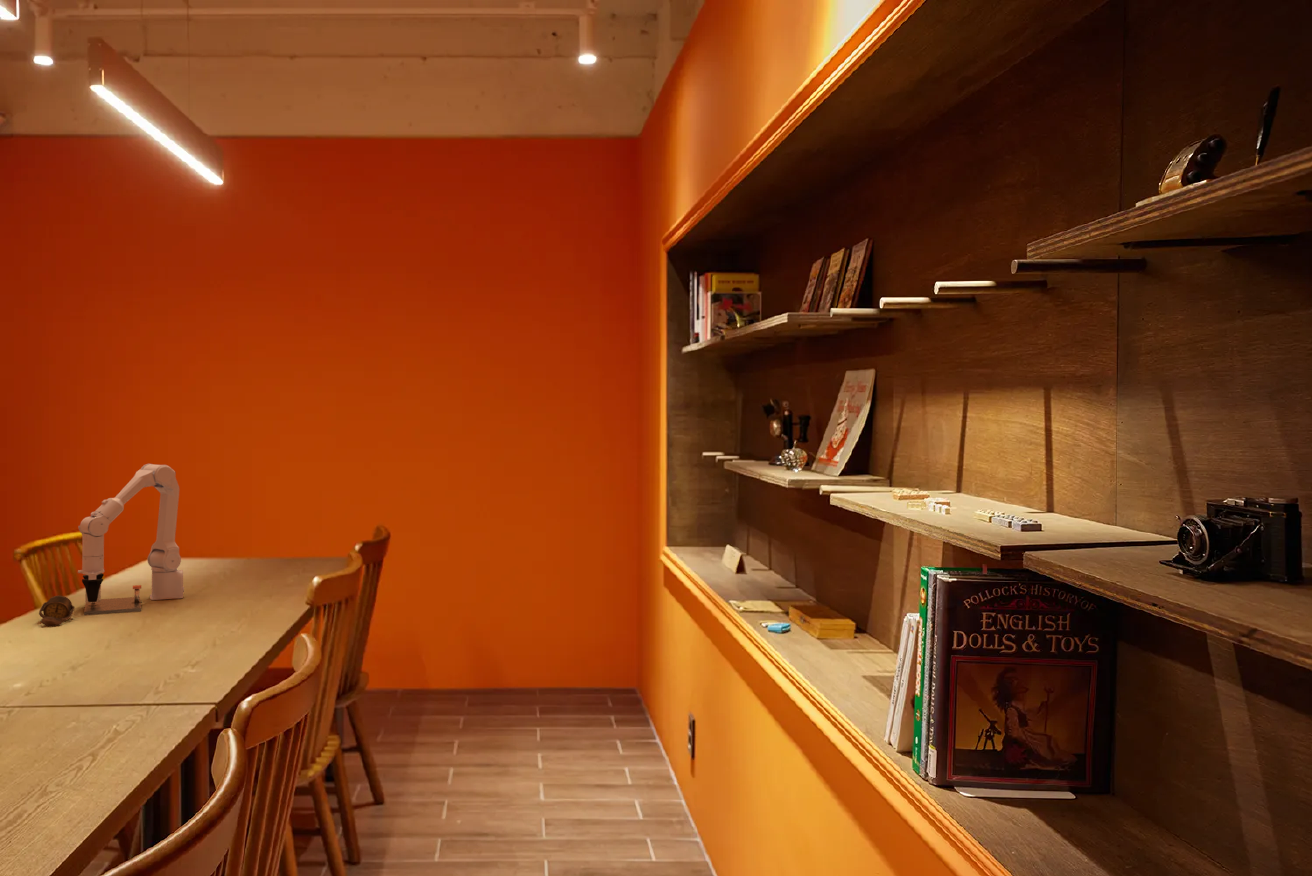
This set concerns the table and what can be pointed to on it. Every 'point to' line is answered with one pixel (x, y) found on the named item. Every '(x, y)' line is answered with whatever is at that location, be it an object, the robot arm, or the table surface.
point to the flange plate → (115, 604)
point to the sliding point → (97, 598)
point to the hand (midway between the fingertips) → (92, 599)
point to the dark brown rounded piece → (56, 611)
